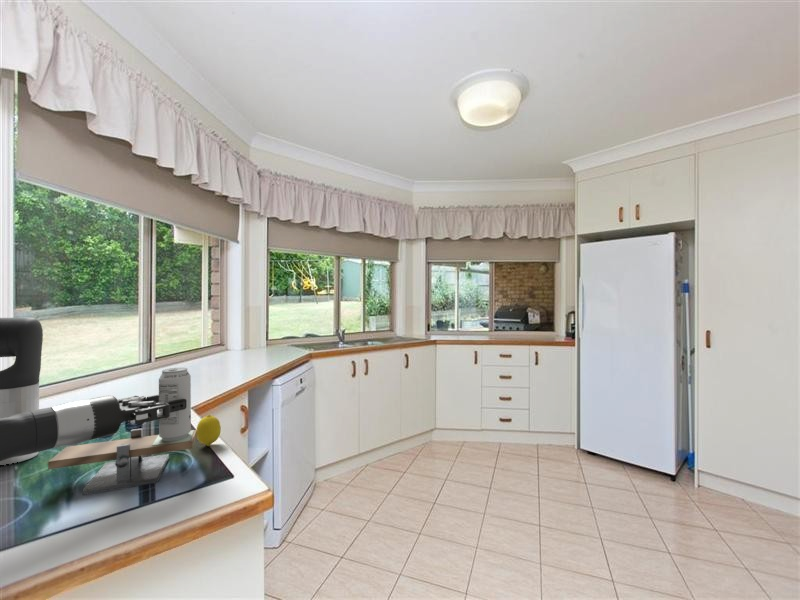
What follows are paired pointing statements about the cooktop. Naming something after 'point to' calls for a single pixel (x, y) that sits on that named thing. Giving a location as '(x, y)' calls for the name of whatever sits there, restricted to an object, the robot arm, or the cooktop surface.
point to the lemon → (208, 430)
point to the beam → (109, 450)
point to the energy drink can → (173, 388)
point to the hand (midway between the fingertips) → (175, 400)
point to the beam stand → (127, 470)
